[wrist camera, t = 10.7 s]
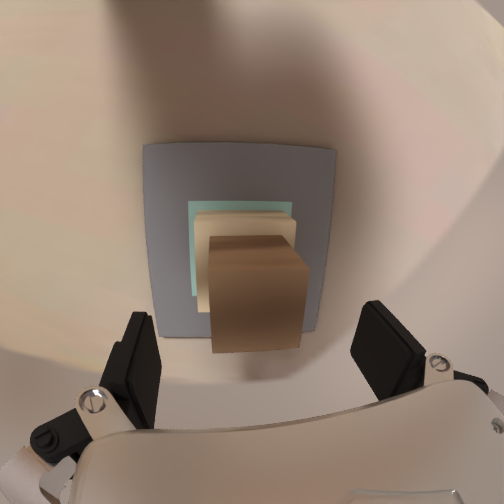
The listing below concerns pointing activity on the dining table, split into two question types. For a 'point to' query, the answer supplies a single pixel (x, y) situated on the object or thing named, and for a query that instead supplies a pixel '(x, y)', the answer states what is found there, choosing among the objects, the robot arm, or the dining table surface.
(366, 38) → the dining table surface
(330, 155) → the build mat
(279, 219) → the maple block
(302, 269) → the walnut block
